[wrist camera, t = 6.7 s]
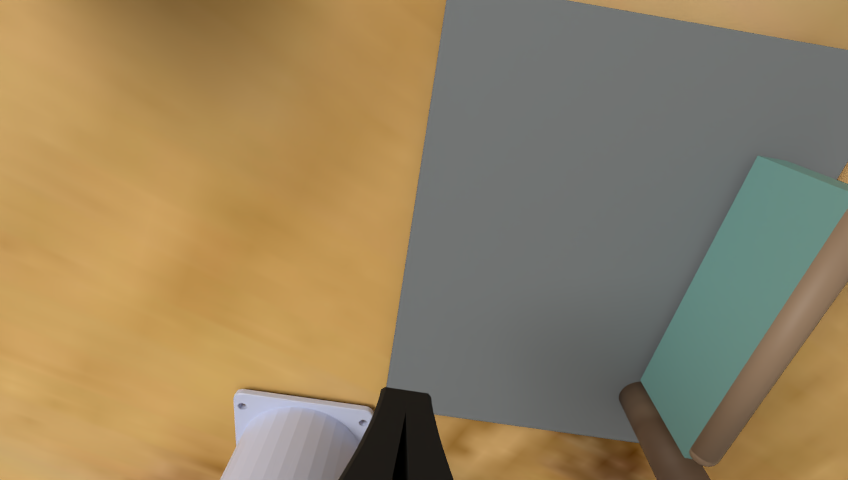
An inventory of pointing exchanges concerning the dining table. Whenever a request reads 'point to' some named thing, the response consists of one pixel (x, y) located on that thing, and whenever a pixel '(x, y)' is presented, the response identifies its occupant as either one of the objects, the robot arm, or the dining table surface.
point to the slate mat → (585, 196)
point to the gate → (750, 305)
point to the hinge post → (657, 437)
